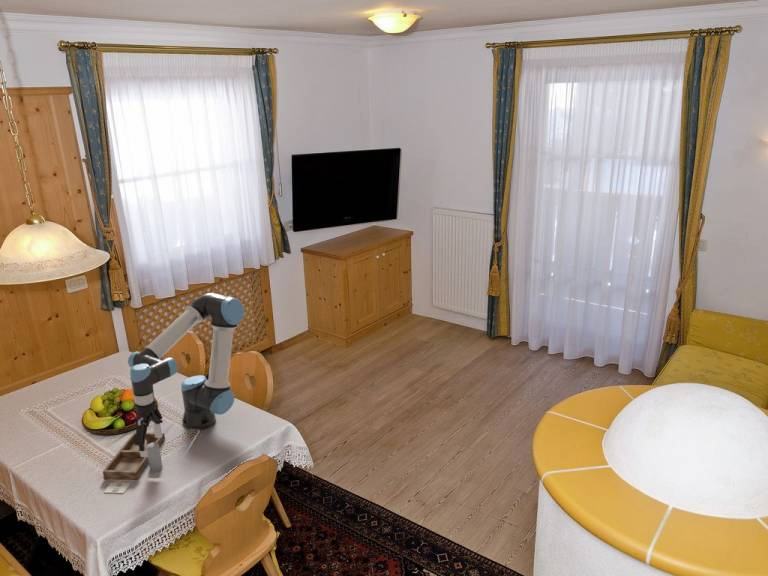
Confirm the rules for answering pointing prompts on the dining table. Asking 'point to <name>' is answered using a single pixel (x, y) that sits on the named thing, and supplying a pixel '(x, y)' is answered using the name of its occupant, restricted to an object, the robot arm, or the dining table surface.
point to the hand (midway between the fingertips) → (151, 446)
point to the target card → (117, 488)
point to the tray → (129, 460)
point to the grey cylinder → (154, 457)
